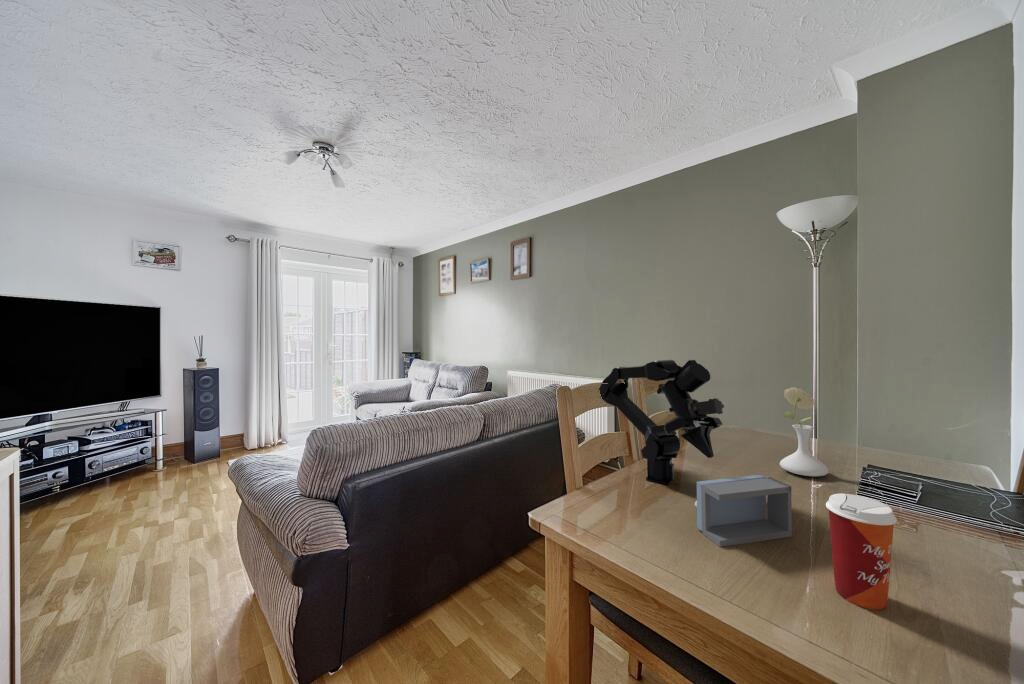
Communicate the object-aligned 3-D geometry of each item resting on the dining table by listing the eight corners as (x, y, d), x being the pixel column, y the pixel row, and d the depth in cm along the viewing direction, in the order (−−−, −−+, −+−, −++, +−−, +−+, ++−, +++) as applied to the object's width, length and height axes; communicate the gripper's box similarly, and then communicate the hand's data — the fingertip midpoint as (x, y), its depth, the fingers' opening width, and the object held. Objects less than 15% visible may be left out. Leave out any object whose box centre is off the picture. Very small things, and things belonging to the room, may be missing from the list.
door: (693, 525, 81) (692, 479, 81) (759, 515, 84) (759, 472, 84) (702, 531, 79) (701, 484, 78) (770, 521, 82) (769, 476, 82)
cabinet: (702, 533, 78) (701, 484, 78) (770, 524, 81) (770, 477, 81) (719, 546, 73) (719, 494, 73) (791, 536, 76) (791, 486, 76)
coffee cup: (884, 623, 54) (883, 520, 53) (816, 589, 61) (815, 498, 61) (907, 603, 57) (906, 507, 57) (840, 573, 65) (840, 488, 64)
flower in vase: (839, 480, 104) (838, 391, 104) (798, 480, 104) (797, 392, 104) (803, 463, 117) (802, 384, 117) (767, 464, 117) (766, 385, 117)
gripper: (686, 383, 90) (722, 445, 81) (723, 388, 101) (758, 443, 92) (651, 405, 97) (680, 464, 88) (689, 407, 107) (718, 460, 99)
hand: (711, 457), depth 92 cm, fingers closed
